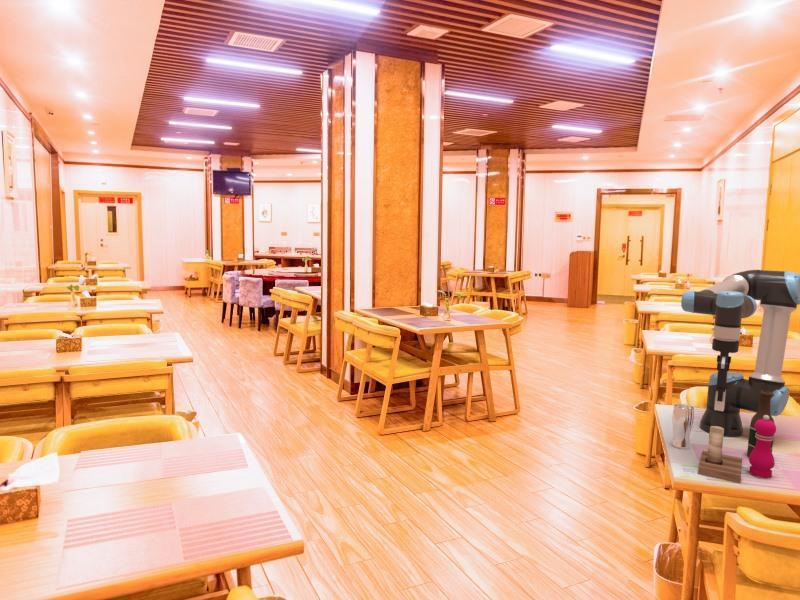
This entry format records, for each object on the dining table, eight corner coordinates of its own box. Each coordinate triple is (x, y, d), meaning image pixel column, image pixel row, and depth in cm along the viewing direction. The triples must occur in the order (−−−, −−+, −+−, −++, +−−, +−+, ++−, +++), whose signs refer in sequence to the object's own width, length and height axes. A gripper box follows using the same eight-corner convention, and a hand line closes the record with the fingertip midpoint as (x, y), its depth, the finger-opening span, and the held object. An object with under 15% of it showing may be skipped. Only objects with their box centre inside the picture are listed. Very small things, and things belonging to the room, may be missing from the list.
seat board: (702, 457, 204) (702, 450, 204) (741, 465, 198) (742, 457, 197) (697, 473, 190) (698, 466, 189) (740, 483, 183) (741, 475, 183)
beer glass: (665, 442, 217) (669, 403, 215) (682, 441, 218) (685, 403, 216) (678, 449, 210) (682, 409, 208) (695, 448, 211) (698, 408, 210)
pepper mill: (777, 479, 186) (783, 419, 184) (752, 477, 188) (758, 417, 185) (767, 470, 194) (774, 412, 191) (744, 468, 195) (750, 410, 192)
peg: (706, 464, 197) (710, 425, 195) (720, 467, 195) (724, 427, 193) (705, 469, 194) (709, 428, 192) (719, 472, 192) (723, 431, 190)
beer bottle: (766, 454, 207) (773, 389, 204) (775, 463, 200) (783, 395, 197) (742, 452, 209) (749, 387, 206) (750, 461, 201) (758, 393, 198)
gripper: (714, 334, 197) (708, 401, 200) (711, 341, 184) (704, 413, 187) (740, 336, 193) (733, 405, 196) (738, 344, 180) (731, 417, 183)
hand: (719, 409), depth 192 cm, fingers open, 2 cm apart
